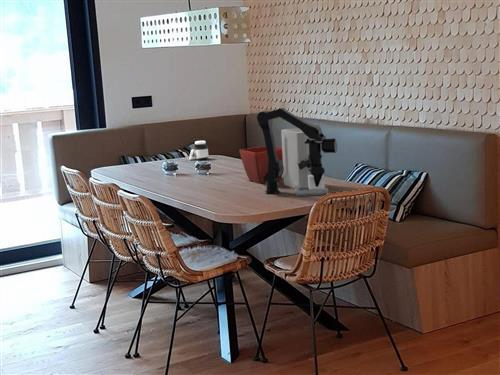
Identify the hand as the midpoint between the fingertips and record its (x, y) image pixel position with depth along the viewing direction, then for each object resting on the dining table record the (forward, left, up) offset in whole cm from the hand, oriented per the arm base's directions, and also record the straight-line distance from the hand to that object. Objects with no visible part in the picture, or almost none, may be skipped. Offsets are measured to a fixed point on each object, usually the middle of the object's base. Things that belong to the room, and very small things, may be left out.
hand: (316, 185), depth 365 cm
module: (0, 0, -1) cm, 1 cm away
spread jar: (-132, -60, -4) cm, 145 cm away
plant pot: (-42, -22, -4) cm, 48 cm away
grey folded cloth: (0, -2, -4) cm, 4 cm away
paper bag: (-21, -3, -4) cm, 22 cm away
